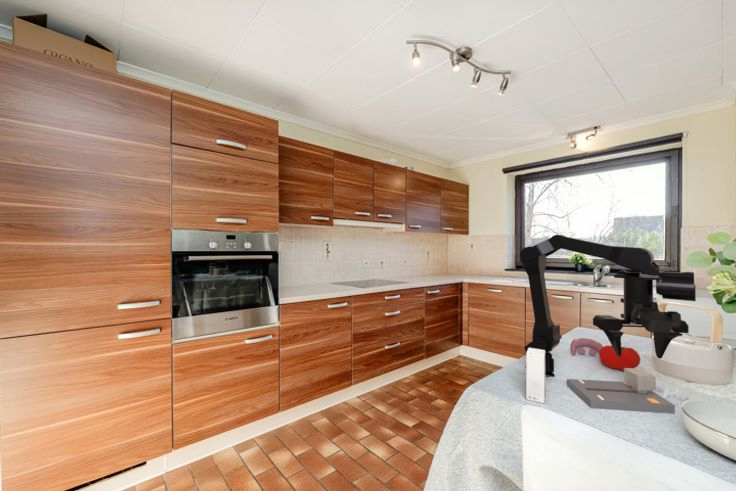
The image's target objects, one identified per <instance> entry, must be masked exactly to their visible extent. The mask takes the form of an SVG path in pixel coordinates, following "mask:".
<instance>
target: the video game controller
mask: <svg viewBox="0 0 736 491" xmlns="http://www.w3.org/2000/svg"><path fill="white" fill-rule="evenodd" d="M602 347H604V346H603V345H602V343H601V342H599V341H598V340H594V339H591V338H583V337H582V338H581V337H580V338H575V339H572V341H571V343H570V353H571V355H572V356H573V357H574V356H576V352H577V353H578V354H579V355H584V354H586V349H585V348H588V349H589V350H588V354H589V355H590V356H591V357H595V356H596V355H597V353H598V354H599V352H600V350H601V348H602Z"/></svg>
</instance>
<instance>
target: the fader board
mask: <svg viewBox="0 0 736 491" xmlns="http://www.w3.org/2000/svg"><path fill="white" fill-rule="evenodd" d="M566 386H567V387H568V388H569V389H570V391H572V392H573V393H574V394H575V395H576V396H577V397H579V399H580V400H582V402H584V404H586V405H587V406H588V407H589V408H590V409H600V410H601V409H603V410H615V411H616V410H617V411H627V412H628V411H630V412H644V413H646V412H647V413H660V414H661V413H662V414H673V415H674V414H675V412H676V410H675V409H676V406H675V404H673V403H672V402H670V401H669V400H667V399H665V398H664V397H663V396H661V395H659V394H658V393H656V392H655V391H647V394H640V393H637V392H635V391H634V390H633V387H632V386H631V385H629V384H628V383H626V382H625V381H616V380H615V381H612V380H595V379H575V378H566Z"/></svg>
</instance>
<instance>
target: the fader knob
mask: <svg viewBox="0 0 736 491" xmlns="http://www.w3.org/2000/svg"><path fill="white" fill-rule="evenodd" d="M623 372H624V377H623V379H624V380H623V382H626V383H628V384H629V385H631V386H632V387H633V390H634V391H635V392H637V393H640V394H647V391H653V392H656V391H657V385H656V384H657V383H656V381H657V380H656V379H657V377H656V376H655V375H653V374H651V373H649V372H648V371H646V370H644V369H643V368H624V370H623Z"/></svg>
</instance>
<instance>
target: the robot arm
mask: <svg viewBox="0 0 736 491" xmlns="http://www.w3.org/2000/svg"><path fill="white" fill-rule="evenodd" d="M561 249H562V250H566V251H570V252H574V253H579V254H583V255H587V256H591V257H595V258H601V259H603V260H606V261H609V262H611V263H613V264H616V265H617V266H620V267H623V268H621V269H620V270H619V271H618V272H617V273H616V274H614V275H613V277H614V279H623V298H622V297H620V303H622V304H623V313H620V318H618V317H615V316H612V315H607V314H606V315H603V314H602V315H601V314H600V315H598V314H596V315H594V317H593V318H592V325H593V326H594V327H597V328H598V329H599V330H601V331H603V333H604V334H605V336H606V337H607V338H608V342H610V346H612V347H613V349H614V351H615V353H616V355H617V356H619V357H621V346H622V336H623V335H624V332H623V331H621V330H622V329H623V328H624V327H625V328H644V329H645V331H647V332H649V333H652V336H653V337H652V338H653V345H654V352H655V356H656V358H658V359H662V358H663V356H664V355H665V352H666V350H667V348H668V346H669V345H670V343H671V342H672V341H673V339H676V338H677V337H681V336H683V334H689V332H690V331H689V330H690V328H689V324H688V323H687V321H686V320H683V319H682V315H681V314H680V312H678V311H675V310H674V311H673V310H670V311H661V310H659V305H658V302H656V301H654V281H655V290H656V291H655V292H656V295H659V296H661V297H662V299H664V300H675V301H686V302H687V301H688V302H696V301H697V297H696V296H697V286H696V285H697V284H695V282H696V281H695V272H693V271H683V272H682V271H680V272H679V271H664V270H663V269H662V267H660V266H659V265H658V264H657V263H656V262H655V261H654V260H655V256H654V254H653V253H652V252H651V250H649V249H647V248H643V247H636V246H633V247H632V246H631V247H630V246H619V245H618V246H617V245H615V246H614V245H608V244H603V243H597V242H593V241H589V240H583V239H578V238H576V237H575V238H574V237H568V236H566V235H563V234H555V235H554V234H553V235H552V236H551V237H549V238H548V239H545V240H543V241H541V242H538V243H537V244H534V245H533V246H531V245H530V246H524V247H523V248H522V249H521V250H520V252H519V259H520V262H521V266H522V268H523V269H524V271H525V272H526V275H527V277H528V285H529V291H530V296H531V305H532V311H533V315H534V316H533V318H534V322H533V328H532V341H530V342H529V343H528V344H526V345H525V346H524V347H523V348H524V351H525V353H527V350H528V348H535V349H541V350H545V377H555V373H554V372H555V359H554V358H553V353H551V352H552V351H553V349H554V348H556V347H557V346H558V345H559V344H560V343H561V342H560V341H561V339H563V337H562V334H561V331H560V329H561V327H560V326H561V325H560V324H555V323H554V321H553V319H552V316H551V310H550V309H551V308H550V303H549V298H548V291H547V284H546V279H545V271H546V267H547V257H549V256H551V255H553V254H554V253H556V252H557V251H559V250H561ZM624 268H625V269H624ZM626 269H629V270H631V271H627V270H626ZM632 271H633V272H632ZM636 271H637V272H636ZM642 273H644V274H646V275H648V276H644V275H643V274H642ZM524 367H525V369H526V365H525V366H524Z"/></svg>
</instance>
